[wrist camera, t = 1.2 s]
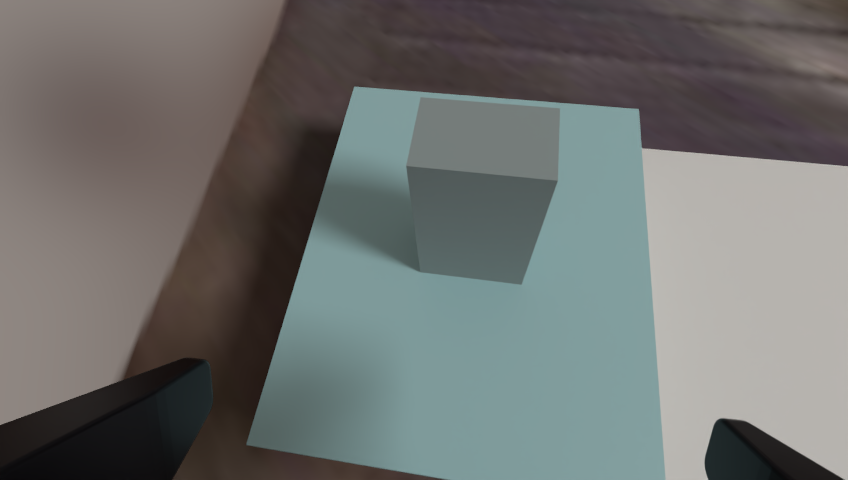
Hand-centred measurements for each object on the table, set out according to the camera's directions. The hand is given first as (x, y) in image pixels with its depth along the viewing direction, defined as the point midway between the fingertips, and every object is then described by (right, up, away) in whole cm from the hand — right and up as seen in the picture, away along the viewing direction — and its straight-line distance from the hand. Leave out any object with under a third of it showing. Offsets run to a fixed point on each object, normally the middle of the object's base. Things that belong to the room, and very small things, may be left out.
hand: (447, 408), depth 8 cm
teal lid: (+2, +1, +13) cm, 13 cm away
